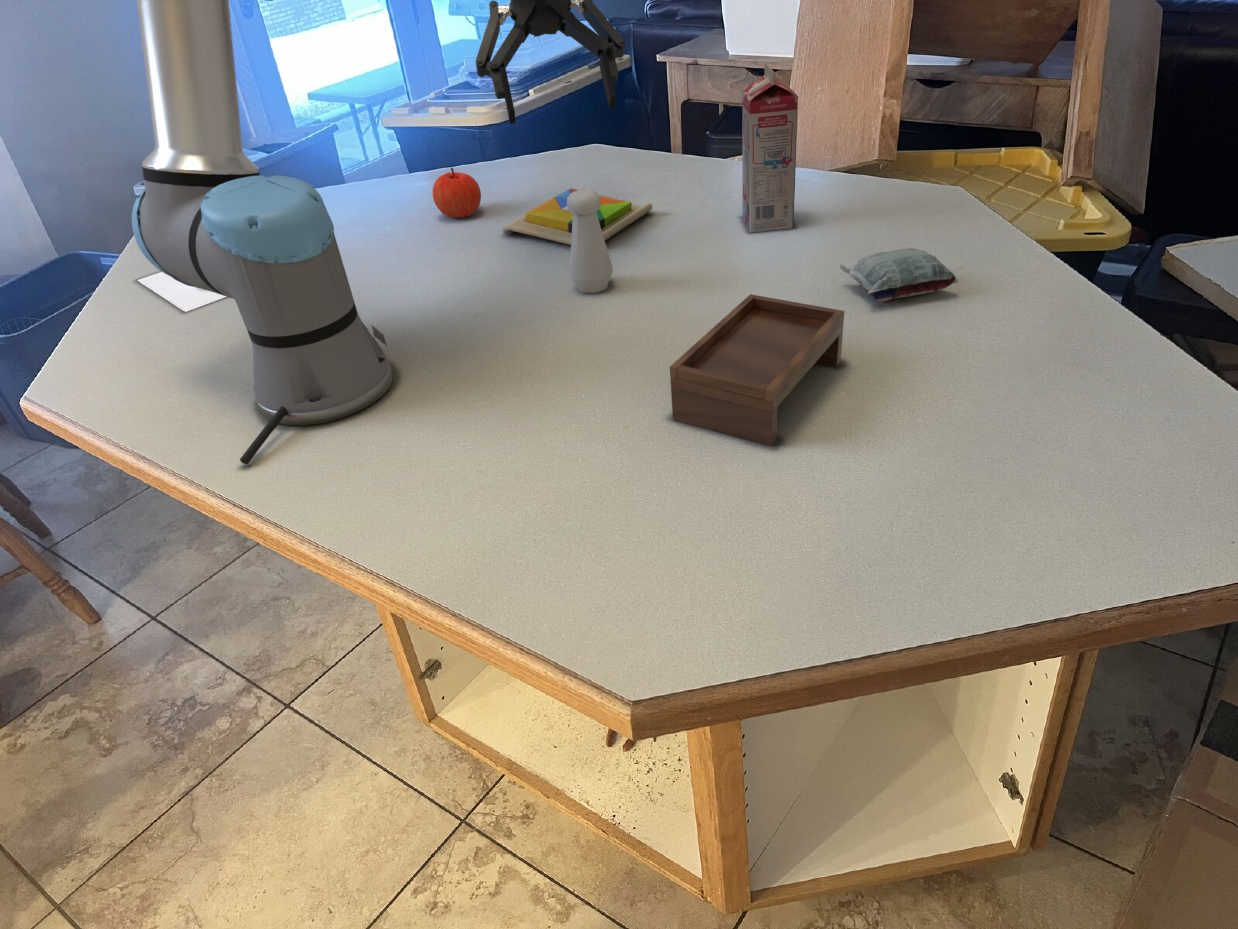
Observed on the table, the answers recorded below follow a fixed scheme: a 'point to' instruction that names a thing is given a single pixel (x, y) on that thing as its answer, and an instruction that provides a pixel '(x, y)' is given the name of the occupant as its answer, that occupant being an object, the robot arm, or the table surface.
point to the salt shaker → (588, 243)
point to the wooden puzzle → (557, 220)
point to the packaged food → (900, 274)
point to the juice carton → (768, 153)
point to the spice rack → (753, 365)
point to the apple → (456, 194)
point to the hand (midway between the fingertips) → (562, 110)
